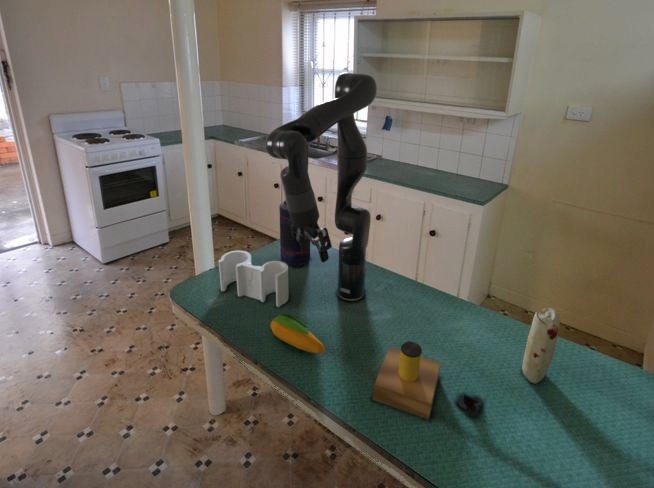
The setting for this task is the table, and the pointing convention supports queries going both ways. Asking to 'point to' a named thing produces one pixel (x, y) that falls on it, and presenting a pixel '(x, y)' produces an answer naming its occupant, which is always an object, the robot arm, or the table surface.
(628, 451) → the table surface
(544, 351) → the food model
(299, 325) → the corn
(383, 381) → the wood block
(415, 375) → the tin
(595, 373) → the table surface
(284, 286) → the bracket
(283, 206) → the navy water bottle
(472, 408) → the block figure
